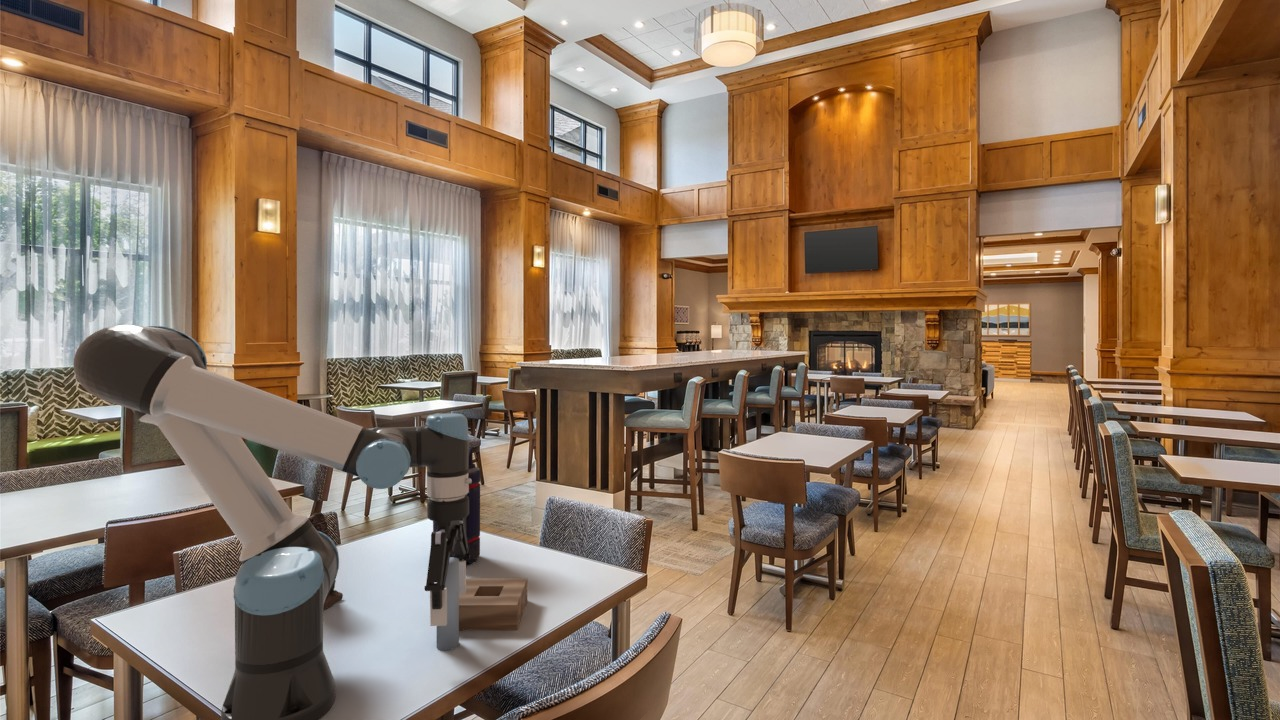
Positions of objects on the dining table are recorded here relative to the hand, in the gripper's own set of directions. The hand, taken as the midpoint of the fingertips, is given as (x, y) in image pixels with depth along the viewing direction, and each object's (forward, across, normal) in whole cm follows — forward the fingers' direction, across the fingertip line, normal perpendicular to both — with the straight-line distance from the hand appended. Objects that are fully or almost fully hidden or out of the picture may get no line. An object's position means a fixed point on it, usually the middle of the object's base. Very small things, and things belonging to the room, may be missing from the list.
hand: (449, 608), depth 114 cm
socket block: (+7, +13, -5) cm, 15 cm away
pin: (+7, 0, 0) cm, 7 cm away
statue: (+7, +19, +33) cm, 39 cm away
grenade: (+7, +45, +10) cm, 47 cm away
